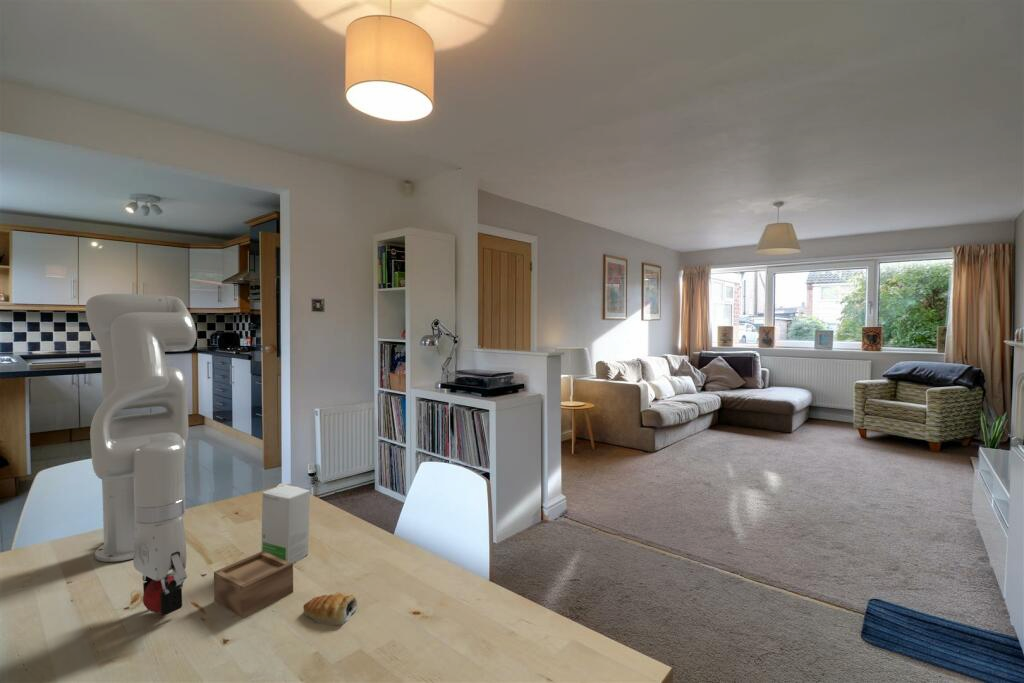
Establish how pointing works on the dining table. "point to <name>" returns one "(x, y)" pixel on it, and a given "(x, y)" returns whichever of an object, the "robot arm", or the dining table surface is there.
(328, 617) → the pastry
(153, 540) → the robot arm
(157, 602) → the onion
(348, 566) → the dining table surface
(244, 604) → the wooden crate
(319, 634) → the dining table surface
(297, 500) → the skincare box
